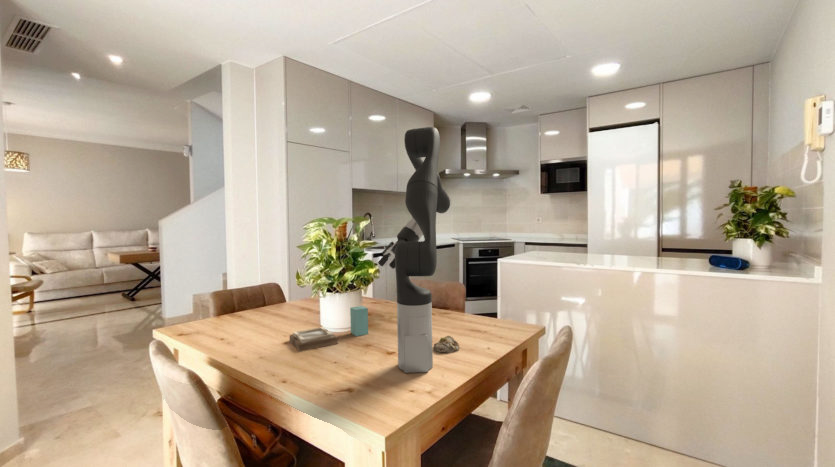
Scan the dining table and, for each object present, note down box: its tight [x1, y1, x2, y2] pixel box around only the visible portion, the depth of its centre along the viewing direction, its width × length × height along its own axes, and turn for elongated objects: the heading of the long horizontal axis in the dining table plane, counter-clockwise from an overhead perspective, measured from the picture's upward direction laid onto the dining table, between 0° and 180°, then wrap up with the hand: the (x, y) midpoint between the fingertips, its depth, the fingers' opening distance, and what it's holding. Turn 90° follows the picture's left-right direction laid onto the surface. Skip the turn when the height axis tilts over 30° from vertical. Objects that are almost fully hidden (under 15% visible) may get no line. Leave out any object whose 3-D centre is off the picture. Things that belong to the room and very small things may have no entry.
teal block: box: [349, 305, 369, 337], centre depth 131 cm, size 4×4×9 cm
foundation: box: [289, 326, 339, 352], centre depth 122 cm, size 12×12×3 cm
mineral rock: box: [433, 335, 460, 354], centre depth 115 cm, size 11×4×8 cm
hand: (385, 265), depth 136 cm, fingers open, 8 cm apart
